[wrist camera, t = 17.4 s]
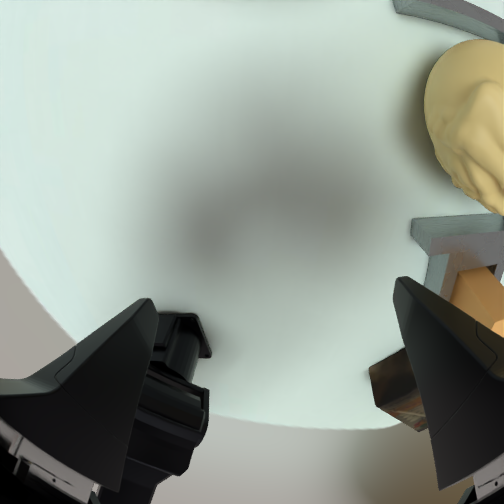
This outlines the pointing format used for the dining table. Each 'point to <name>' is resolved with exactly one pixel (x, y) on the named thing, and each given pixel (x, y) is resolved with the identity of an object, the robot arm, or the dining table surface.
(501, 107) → the sculpture
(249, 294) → the dining table surface
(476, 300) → the orange rectangular block
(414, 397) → the beverage carton
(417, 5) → the grey flat openwork piece
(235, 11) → the dining table surface
